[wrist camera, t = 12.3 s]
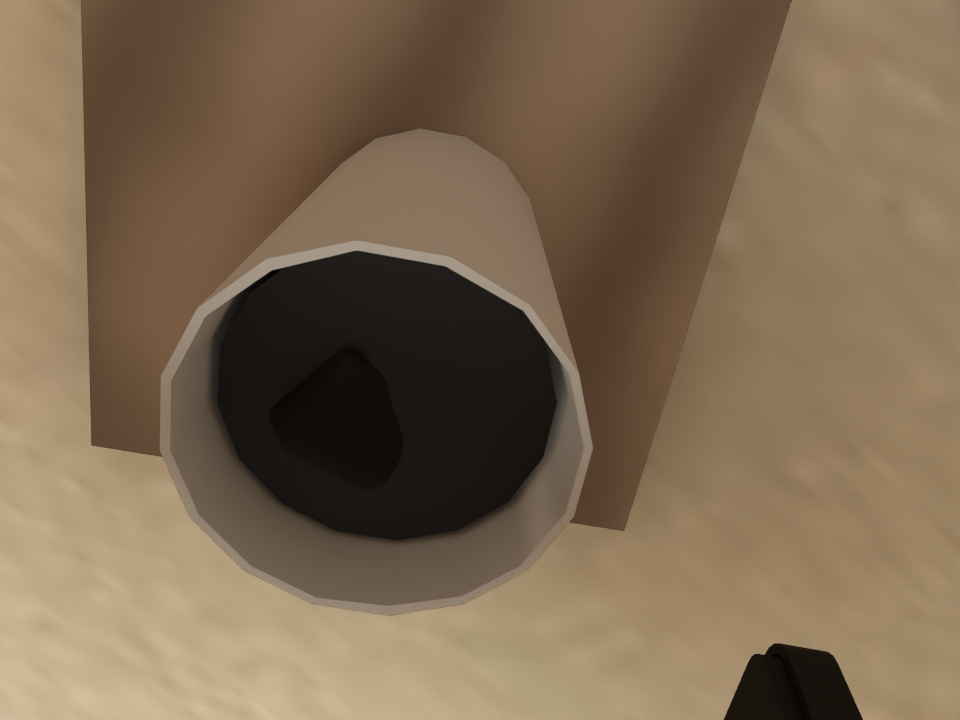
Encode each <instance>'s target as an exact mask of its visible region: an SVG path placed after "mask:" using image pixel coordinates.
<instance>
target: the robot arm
mask: <svg viewBox="0 0 960 720" xmlns="http://www.w3.org/2000/svg"><path fill="white" fill-rule="evenodd" d="M724 720H863V719H862V717H861V714H860V712H859V710H858V708H857V705H856V703H855V701H854V699H853V696H852V694H851V692H850V690H849V687H848V685H847V683H846V681H845V678H844V676H843V674H842V672H841V669H840V667H839V665H838V663H837V661H836V660H835V658H834V656H833V655H831V654H830V653H828V652H825V651H820V650H814V649H808V648H802V647H797V646H791V645H785V644H779V643H778V644H773V645H772V646H771V647H769V649H768V650H767V652H766V654H765V655H761V654H754V655H753V656H752V657H751V659H750V660H749V662H748V664H747V667H746V669H745V671H744V674H743V676H742V678H741V681H740V683H739V685H738V688H737V690H736V692H735V695H734V697H733V699H732V702H731V704H730V706H729V709H728V711H727V713H726V716H725V718H724Z"/></svg>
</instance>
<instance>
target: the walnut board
mask: <svg viewBox="0 0 960 720" xmlns="http://www.w3.org/2000/svg"><path fill="white" fill-rule="evenodd" d="M791 1H792V0H81V18H82V61H83V104H84V147H85V190H86V233H87V276H88V319H89V361H90V404H91V445H92V446H98V447H105V448H111V449H117V450H123V451H129V452H136V453H142V454H148V455H154V456H161V457H163V456H162V454H161V452H160V395H161V375H162V373H163V371H164V370H165V368H166V366H167V364H168V362H169V360H170V358H171V356H172V355H173V353H174V351H175V349H176V347H177V345H178V343H179V341H180V340H181V338H182V336H183V334H184V332H185V330H186V328H187V326H188V325H189V323H190V321H191V319H192V317H193V315H194V313H195V311H196V310H197V308H198V307H199V306H200V305H201V304H202V303H203V302H204V301H205V300H206V299H207V298H208V297H209V296H210V295H211V294H212V293H213V292H214V291H215V290H216V289H217V288H218V287H219V286H220V285H221V284H222V283H223V282H224V281H225V280H226V279H227V278H228V277H229V276H230V275H231V274H232V273H233V272H234V271H235V270H236V269H237V268H238V267H239V266H240V265H241V264H242V263H243V262H244V261H245V260H246V259H247V258H248V257H249V256H250V255H251V254H252V253H253V252H254V251H255V250H256V249H257V248H258V247H259V246H260V245H261V244H262V243H263V242H264V241H265V240H266V239H267V238H268V237H269V236H270V235H271V234H272V233H273V232H274V231H275V230H276V229H277V228H278V227H279V226H280V225H281V224H282V223H283V222H284V221H285V220H286V219H287V218H288V217H289V216H290V215H291V214H292V213H293V212H294V211H295V210H296V209H297V208H298V207H299V206H300V205H301V204H302V203H303V202H304V201H305V200H306V199H307V198H308V197H309V196H310V195H311V194H312V193H313V192H314V191H315V190H316V189H317V188H318V187H319V186H320V185H321V184H322V183H323V182H324V181H325V180H326V179H327V178H328V177H329V176H330V175H331V173H332V172H333V171H334V170H335V169H336V168H337V167H338V166H339V165H340V164H341V163H343V162H344V161H345V160H347V159H348V158H350V157H351V156H352V155H354V154H355V153H356V152H358V151H359V150H361V149H362V148H363V147H365V146H366V145H367V144H369V143H370V142H372V141H373V140H374V139H376V138H380V137H384V136H389V135H393V134H398V133H403V132H407V131H412V130H416V129H426V130H431V131H436V132H442V133H447V134H452V135H458V136H463V137H467V138H468V139H470V140H471V141H473V142H475V143H476V144H478V145H479V146H481V147H482V148H484V149H485V150H487V151H488V152H490V153H491V154H493V155H495V156H496V157H498V158H499V159H501V160H502V161H504V162H505V163H506V165H507V166H508V168H509V169H510V171H511V172H512V174H513V175H514V176H515V178H516V179H517V181H518V182H519V184H520V185H521V187H522V188H523V190H524V191H525V193H526V194H527V196H528V197H529V198H530V202H531V206H532V209H533V213H534V216H535V220H536V223H537V227H538V230H539V234H540V238H541V241H542V245H543V248H544V252H545V255H546V259H547V262H548V266H549V269H550V273H551V276H552V280H553V283H554V287H555V291H556V294H557V298H558V301H559V305H560V308H561V312H562V315H563V319H564V322H565V326H566V329H567V333H568V336H569V340H570V344H571V347H572V351H573V354H574V358H575V361H576V365H577V368H578V372H579V376H580V382H581V387H582V392H583V397H584V403H585V408H586V413H587V419H588V424H589V429H590V434H591V440H592V445H593V450H592V453H591V457H590V461H589V464H588V468H587V471H586V475H585V479H584V482H583V486H582V489H581V493H580V496H579V500H578V504H577V507H576V511H575V514H574V517H573V518H572V519H571V521H570V522H571V523H577V524H583V525H590V526H596V527H602V528H608V529H614V530H621V531H624V529H625V526H626V523H627V520H628V517H629V514H630V510H631V507H632V504H633V501H634V498H635V495H636V491H637V488H638V485H639V482H640V479H641V476H642V472H643V469H644V466H645V463H646V460H647V457H648V453H649V450H650V447H651V444H652V441H653V438H654V434H655V431H656V428H657V425H658V422H659V419H660V415H661V412H662V409H663V406H664V403H665V400H666V396H667V393H668V390H669V387H670V384H671V381H672V377H673V374H674V371H675V368H676V365H677V362H678V358H679V355H680V352H681V349H682V346H683V343H684V339H685V336H686V333H687V330H688V327H689V324H690V320H691V317H692V314H693V311H694V308H695V305H696V301H697V298H698V295H699V292H700V289H701V286H702V282H703V279H704V276H705V273H706V270H707V267H708V263H709V260H710V257H711V254H712V251H713V248H714V244H715V241H716V238H717V235H718V232H719V229H720V225H721V222H722V219H723V216H724V213H725V210H726V206H727V203H728V200H729V197H730V194H731V191H732V187H733V184H734V181H735V178H736V175H737V172H738V168H739V165H740V162H741V159H742V156H743V153H744V149H745V146H746V143H747V140H748V137H749V134H750V130H751V127H752V124H753V121H754V118H755V115H756V111H757V108H758V105H759V102H760V99H761V96H762V92H763V89H764V86H765V83H766V80H767V77H768V73H769V70H770V67H771V64H772V61H773V58H774V54H775V51H776V48H777V45H778V42H779V39H780V35H781V32H782V29H783V26H784V23H785V20H786V16H787V13H788V10H789V7H790V4H791Z"/></svg>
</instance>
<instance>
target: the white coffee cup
mask: <svg viewBox="0 0 960 720" xmlns="http://www.w3.org/2000/svg"><path fill="white" fill-rule="evenodd" d="M592 450H593V445H592V440H591V434H590V429H589V424H588V419H587V413H586V408H585V403H584V397H583V392H582V387H581V382H580V376H579V372H578V368H577V365H576V361H575V358H574V354H573V351H572V347H571V344H570V340H569V336H568V333H567V329H566V326H565V322H564V319H563V315H562V312H561V308H560V305H559V301H558V298H557V294H556V291H555V287H554V283H553V280H552V276H551V273H550V269H549V266H548V262H547V259H546V255H545V252H544V248H543V245H542V241H541V238H540V234H539V230H538V227H537V223H536V220H535V216H534V213H533V209H532V206H531V202H530V198H529V197H528V196H527V194H526V193H525V191H524V190H523V188H522V187H521V185H520V184H519V182H518V181H517V179H516V178H515V176H514V175H513V174H512V172H511V171H510V169H509V168H508V166H507V165H506V163H505V162H504V161H502V160H501V159H499V158H498V157H496V156H495V155H493V154H491V153H490V152H488V151H487V150H485V149H484V148H482V147H481V146H479V145H478V144H476V143H475V142H473V141H471V140H470V139H468V138H467V137H463V136H458V135H452V134H447V133H442V132H436V131H431V130H426V129H416V130H412V131H407V132H403V133H398V134H393V135H389V136H384V137H380V138H376V139H374V140H373V141H372V142H370V143H369V144H367V145H366V146H365V147H363V148H362V149H361V150H359V151H358V152H356V153H355V154H354V155H352V156H351V157H350V158H348V159H347V160H345V161H344V162H343V163H341V164H340V165H339V166H338V167H337V168H336V169H335V170H334V171H333V172H332V173H331V175H330V176H329V177H328V178H327V179H326V180H325V181H324V182H323V183H322V184H321V185H320V186H319V187H318V188H317V189H316V190H315V191H314V192H313V193H312V194H311V195H310V196H309V197H308V198H307V199H306V200H305V201H304V202H303V203H302V204H301V205H300V206H299V207H298V208H297V209H296V210H295V211H294V212H293V213H292V214H291V215H290V216H289V217H288V218H287V219H286V220H285V221H284V222H283V223H282V224H281V225H280V226H279V227H278V228H277V229H276V230H275V231H274V232H273V233H272V234H271V235H270V236H269V237H268V238H267V239H266V240H265V241H264V242H263V243H262V244H261V245H260V246H259V247H258V248H257V249H256V250H255V251H254V252H253V253H252V254H251V255H250V256H249V257H248V258H247V259H246V260H245V261H244V262H243V263H242V264H241V265H240V266H239V267H238V268H237V269H236V270H235V271H234V272H233V273H232V274H231V275H230V276H229V277H228V278H227V279H226V280H225V281H224V282H223V283H222V284H221V285H220V286H219V287H218V288H217V289H216V290H215V291H214V292H213V293H212V294H211V295H210V296H209V297H208V298H207V299H206V300H205V301H204V302H203V303H202V304H201V305H200V306H199V307H198V308H197V310H196V311H195V313H194V315H193V317H192V319H191V321H190V323H189V325H188V326H187V328H186V330H185V332H184V334H183V336H182V338H181V340H180V341H179V343H178V345H177V347H176V349H175V351H174V353H173V355H172V356H171V358H170V360H169V362H168V364H167V366H166V368H165V370H164V371H163V373H162V375H161V395H160V452H161V454H162V456H163V459H164V461H165V463H166V465H167V468H168V470H169V472H170V474H171V477H172V479H173V481H174V483H175V485H176V488H177V490H178V492H179V494H180V497H181V499H182V501H183V503H184V506H185V508H186V510H187V512H188V515H189V517H190V518H191V519H192V520H193V521H194V522H195V523H196V524H197V525H198V526H199V527H200V528H201V529H202V530H203V531H204V532H205V533H206V534H207V535H208V536H209V537H210V538H211V539H212V540H213V541H214V542H215V543H216V544H217V545H218V546H219V547H220V548H221V549H222V550H223V551H224V552H225V553H226V554H227V555H228V556H229V557H231V558H232V559H233V560H234V561H235V562H236V563H237V564H238V565H239V566H240V567H241V568H242V569H243V570H244V571H246V572H248V573H250V574H252V575H254V576H256V577H258V578H260V579H262V580H264V581H266V582H268V583H270V584H272V585H274V586H277V587H279V588H281V589H283V590H285V591H287V592H289V593H291V594H293V595H295V596H297V597H299V598H301V599H303V600H305V601H307V602H310V603H312V604H315V605H321V606H328V607H334V608H341V609H348V610H354V611H361V612H367V613H374V614H381V615H387V616H391V615H398V614H404V613H410V612H417V611H423V610H430V609H436V608H443V607H449V606H456V605H462V604H465V603H467V602H469V601H471V600H473V599H475V598H476V597H478V596H480V595H482V594H484V593H486V592H488V591H490V590H492V589H494V588H495V587H497V586H499V585H501V584H503V583H505V582H507V581H509V580H511V579H513V578H514V577H516V576H518V575H520V574H522V573H524V572H526V571H528V570H529V569H530V567H531V566H532V565H533V564H534V563H535V562H536V560H537V559H538V558H539V557H540V556H541V555H542V553H543V552H544V551H545V550H546V549H547V548H548V546H549V545H550V544H551V543H552V542H553V541H554V539H555V538H556V537H557V536H558V535H559V533H560V532H561V531H562V530H563V529H564V528H565V526H566V525H567V524H568V523H569V522H570V521H571V519H572V518H573V517H574V514H575V511H576V507H577V504H578V500H579V496H580V493H581V489H582V486H583V482H584V479H585V475H586V471H587V468H588V464H589V461H590V457H591V453H592Z"/></svg>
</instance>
